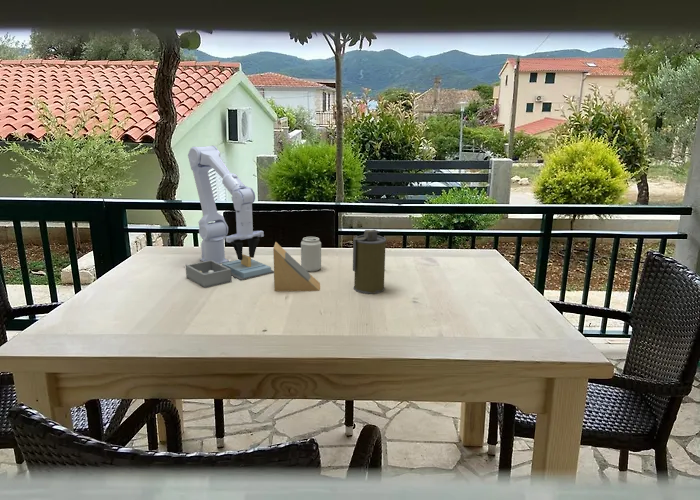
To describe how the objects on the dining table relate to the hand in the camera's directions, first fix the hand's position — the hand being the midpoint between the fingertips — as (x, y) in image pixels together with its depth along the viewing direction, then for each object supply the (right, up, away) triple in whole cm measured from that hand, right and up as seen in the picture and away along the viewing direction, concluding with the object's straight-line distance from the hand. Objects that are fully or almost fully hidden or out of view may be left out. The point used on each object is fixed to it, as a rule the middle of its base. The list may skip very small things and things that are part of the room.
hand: (245, 258), depth 189 cm
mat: (0, -5, +1) cm, 5 cm away
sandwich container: (+20, -10, -14) cm, 27 cm away
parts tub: (-11, -7, -8) cm, 16 cm away
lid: (0, -4, +1) cm, 4 cm away
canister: (+44, -10, -15) cm, 48 cm away
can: (+24, -4, +5) cm, 24 cm away
